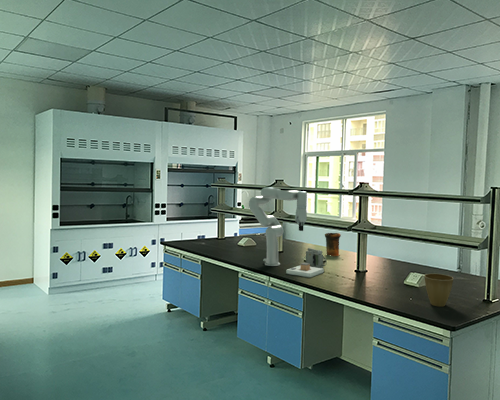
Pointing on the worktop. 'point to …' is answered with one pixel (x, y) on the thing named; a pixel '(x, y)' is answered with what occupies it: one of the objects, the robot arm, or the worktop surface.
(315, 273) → the socket plate
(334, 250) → the vessel
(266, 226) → the robot arm
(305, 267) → the plug
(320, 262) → the geiger counter
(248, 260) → the worktop surface
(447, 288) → the plant pot
